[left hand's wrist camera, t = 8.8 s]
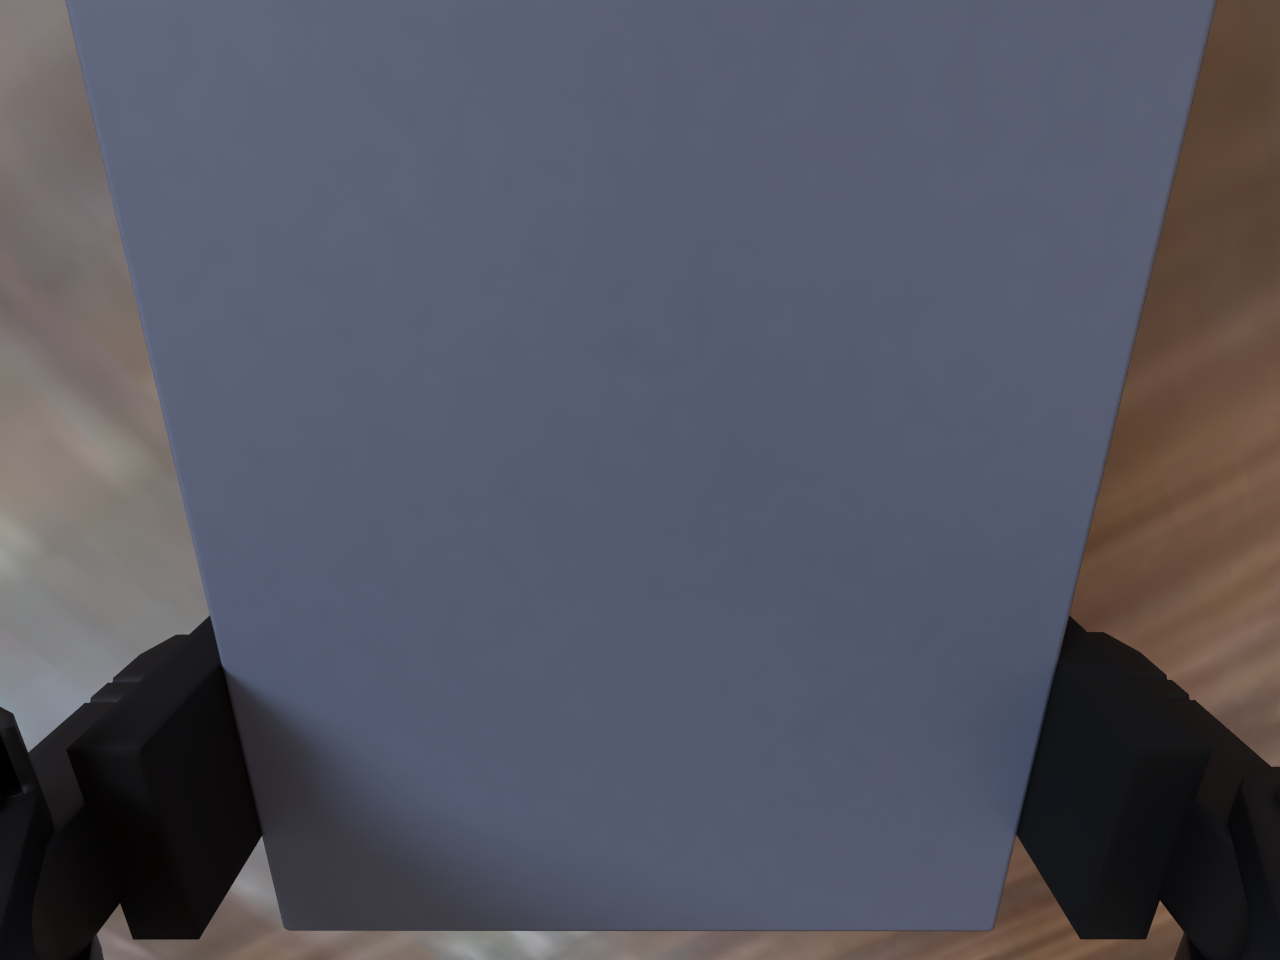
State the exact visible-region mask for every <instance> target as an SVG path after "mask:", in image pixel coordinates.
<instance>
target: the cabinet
mask: <svg viewBox="0 0 1280 960" xmlns="http://www.w3.org/2000/svg"><path fill="white" fill-rule="evenodd" d="M65 1H66V5H67V9H68V13H69V18H70V22H71V26H72V30H73V35H74V39H75V43H76V47H77V52H78V56H79V60H80V64H81V69H82V73H83V77H84V81H85V86H86V90H87V94H88V98H89V103H90V107H91V111H92V115H93V120H94V124H95V128H96V132H97V137H98V141H99V145H100V149H101V154H102V158H103V162H104V166H105V171H106V175H107V179H108V183H109V188H110V192H111V196H112V200H113V204H114V209H115V213H116V217H117V221H118V226H119V230H120V234H121V238H122V243H123V247H124V251H125V255H126V260H127V264H128V268H129V272H130V277H131V281H132V285H133V289H134V294H135V298H136V302H137V306H138V311H139V315H140V319H141V323H142V328H143V332H144V336H145V340H146V345H147V349H148V353H149V357H150V362H151V366H152V370H153V374H154V379H155V383H156V387H157V391H158V396H159V400H160V404H161V408H162V412H163V417H164V421H165V425H166V429H167V434H168V438H169V442H170V446H171V451H172V455H173V459H174V463H175V468H176V472H177V476H178V480H179V485H180V489H181V493H182V497H183V502H184V506H185V510H186V514H187V519H188V523H189V527H190V531H191V536H192V540H193V544H194V548H195V553H196V557H197V561H198V565H199V570H200V574H201V578H202V582H203V587H204V591H205V595H206V599H207V603H208V608H209V612H210V616H211V620H212V625H213V629H214V633H215V637H216V642H217V646H218V650H219V654H220V659H221V663H222V667H223V671H224V676H225V680H226V684H227V688H228V693H229V697H230V701H231V705H232V710H233V714H234V718H235V722H236V727H237V731H238V735H239V739H240V744H241V748H242V752H243V756H244V761H245V765H246V769H247V773H248V778H249V782H250V786H251V790H252V795H253V799H254V803H255V807H256V811H257V816H258V820H259V824H260V828H261V833H262V837H263V841H264V845H265V850H266V854H267V858H268V862H269V867H270V871H271V875H272V879H273V884H274V888H275V892H276V896H277V901H278V905H279V909H280V913H281V918H282V922H283V926H284V928H285V929H287V930H289V931H990V930H992V929H993V928H994V925H995V921H996V917H997V913H998V909H999V905H1000V900H1001V896H1002V892H1003V888H1004V884H1005V880H1006V875H1007V871H1008V867H1009V863H1010V859H1011V855H1012V850H1013V846H1014V842H1015V838H1016V834H1017V830H1018V825H1019V821H1020V817H1021V813H1022V809H1023V805H1024V801H1025V796H1026V792H1027V788H1028V784H1029V780H1030V776H1031V771H1032V767H1033V763H1034V759H1035V755H1036V751H1037V746H1038V742H1039V738H1040V734H1041V730H1042V726H1043V721H1044V717H1045V713H1046V709H1047V705H1048V701H1049V697H1050V692H1051V688H1052V684H1053V680H1054V676H1055V672H1056V667H1057V663H1058V659H1059V655H1060V651H1061V647H1062V642H1063V638H1064V634H1065V630H1066V626H1067V622H1068V617H1069V613H1070V609H1071V605H1072V601H1073V597H1074V592H1075V588H1076V584H1077V580H1078V576H1079V572H1080V568H1081V563H1082V559H1083V555H1084V551H1085V547H1086V543H1087V538H1088V534H1089V530H1090V526H1091V522H1092V518H1093V513H1094V509H1095V505H1096V501H1097V497H1098V493H1099V488H1100V484H1101V480H1102V476H1103V472H1104V468H1105V464H1106V459H1107V455H1108V451H1109V447H1110V443H1111V439H1112V434H1113V430H1114V426H1115V422H1116V418H1117V414H1118V409H1119V405H1120V401H1121V397H1122V393H1123V389H1124V384H1125V380H1126V376H1127V372H1128V368H1129V364H1130V360H1131V355H1132V351H1133V347H1134V343H1135V339H1136V335H1137V330H1138V326H1139V322H1140V318H1141V314H1142V310H1143V305H1144V301H1145V297H1146V293H1147V289H1148V285H1149V280H1150V276H1151V272H1152V268H1153V264H1154V260H1155V256H1156V251H1157V247H1158V243H1159V239H1160V235H1161V231H1162V226H1163V222H1164V218H1165V214H1166V210H1167V206H1168V201H1169V197H1170V193H1171V189H1172V185H1173V181H1174V176H1175V172H1176V168H1177V164H1178V160H1179V156H1180V152H1181V147H1182V143H1183V139H1184V135H1185V131H1186V127H1187V122H1188V118H1189V114H1190V110H1191V106H1192V102H1193V97H1194V93H1195V89H1196V85H1197V81H1198V77H1199V72H1200V68H1201V64H1202V60H1203V56H1204V52H1205V47H1206V43H1207V39H1208V35H1209V31H1210V27H1211V23H1212V18H1213V14H1214V10H1215V6H1216V2H1217V0H65Z"/></svg>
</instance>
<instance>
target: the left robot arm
mask: <svg viewBox="0 0 1280 960" xmlns="http://www.w3.org/2000/svg"><path fill="white" fill-rule="evenodd" d="M261 836H262V833H261V828H260V824H259V820H258V816H257V811H256V807H255V803H254V799H253V795H252V790H251V786H250V782H249V778H248V773H247V769H246V765H245V761H244V756H243V752H242V748H241V744H240V739H239V735H238V731H237V727H236V722H235V718H234V714H233V710H232V705H231V701H230V697H229V693H228V688H227V684H226V680H225V676H224V671H223V667H222V663H221V659H220V654H219V650H218V646H217V642H216V637H215V633H214V629H213V625H212V620H211V616H209V617H208V618H207V619H206V620H205V621H203V622H202V623H201V624H200V625H199V626H198V627H197V628H196V629H195V630H194V631H193V632H192V633H191V634H190V635H175V636H173V637H171V638H169V639H168V640H166V641H164V642H162V643H160V644H158V645H157V646H155V647H153V648H151V649H149V650H148V651H146V652H144V653H142V654H140V655H139V656H138V657H137V658H136V659H134V660H133V661H132V662H131V663H130V664H129V665H128V666H126V667H125V668H124V669H123V670H122V671H121V672H120V673H118V674H117V675H116V676H115V677H114V678H113V682H112V683H107V684H106V685H105V686H104V687H103V688H101V689H100V690H99V691H98V692H97V693H96V694H95V695H93V696H92V697H91V701H90V703H84V704H83V705H82V706H81V707H80V708H79V709H78V710H76V711H75V712H74V713H73V714H72V715H71V716H70V717H68V718H67V719H66V720H65V721H64V722H63V723H62V724H60V725H59V726H58V727H57V728H56V729H55V730H54V731H52V732H51V733H50V734H49V735H48V736H47V737H46V738H45V739H43V740H42V741H41V742H40V743H39V744H38V745H37V746H35V747H34V748H33V749H32V750H31V751H30V752H29V753H28V752H27V749H26V746H25V744H24V741H23V738H22V736H21V733H20V730H19V728H18V725H17V722H16V720H15V717H14V715H13V713H11V712H9V711H7V710H5V709H3V708H1V707H0V960H104V959H103V953H102V948H101V945H100V942H99V939H98V937H97V933H98V931H99V930H100V929H101V927H102V926H103V925H104V923H105V922H106V921H107V919H108V918H109V917H110V915H111V914H112V913H113V912H114V910H115V909H116V908H117V906H118V905H119V904H121V907H122V909H123V912H124V915H125V918H126V921H127V924H128V926H129V929H130V932H131V935H132V938H133V939H199V938H200V937H201V935H202V933H203V932H204V930H205V928H206V927H207V925H208V924H209V922H210V920H211V919H212V917H213V915H214V914H215V912H216V910H217V909H218V907H219V905H220V904H221V902H222V901H223V899H224V897H225V896H226V894H227V892H228V891H229V889H230V887H231V886H232V884H233V882H234V881H235V879H236V877H237V876H238V874H239V873H240V871H241V869H242V868H243V866H244V864H245V863H246V861H247V859H248V858H249V856H250V854H251V853H252V851H253V850H254V848H255V846H256V845H257V843H258V841H259V840H260V838H261ZM1017 836H1018V838H1019V839H1020V841H1021V843H1022V844H1023V846H1024V848H1025V849H1026V851H1027V852H1028V854H1029V856H1030V857H1031V859H1032V861H1033V862H1034V864H1035V866H1036V867H1037V869H1038V871H1039V872H1040V874H1041V875H1042V877H1043V879H1044V880H1045V882H1046V884H1047V885H1048V887H1049V889H1050V890H1051V892H1052V894H1053V895H1054V897H1055V898H1056V900H1057V902H1058V903H1059V905H1060V907H1061V908H1062V910H1063V912H1064V913H1065V915H1066V917H1067V918H1068V920H1069V921H1070V923H1071V925H1072V926H1073V928H1074V930H1075V931H1076V933H1077V935H1078V936H1079V938H1080V939H1146V938H1147V935H1148V932H1149V929H1150V926H1151V924H1152V921H1153V918H1154V915H1155V912H1156V909H1157V907H1158V904H1159V901H1161V902H1162V903H1163V905H1164V906H1165V907H1166V909H1167V910H1168V911H1169V913H1170V914H1171V915H1172V917H1173V918H1174V919H1175V920H1176V922H1177V923H1178V924H1179V926H1180V927H1181V928H1182V930H1183V931H1184V934H1183V937H1182V939H1181V942H1180V945H1179V947H1178V950H1177V953H1176V955H1175V958H1174V960H1280V767H1271V766H1270V765H1269V764H1267V763H1266V762H1265V761H1264V760H1263V759H1262V758H1261V757H1259V756H1258V755H1257V754H1256V753H1255V752H1254V751H1253V750H1251V749H1250V748H1249V747H1248V746H1247V745H1246V744H1245V743H1243V742H1242V741H1241V740H1240V739H1239V738H1238V737H1237V736H1235V735H1234V734H1233V733H1232V732H1231V731H1230V730H1229V729H1227V728H1226V727H1225V726H1224V725H1223V724H1222V723H1221V722H1219V721H1218V720H1217V719H1216V718H1215V717H1214V716H1213V715H1211V714H1210V713H1209V712H1208V711H1207V710H1206V709H1204V708H1203V707H1202V706H1201V705H1200V704H1199V703H1198V702H1196V701H1195V700H1190V699H1189V695H1188V694H1187V693H1186V692H1185V691H1184V690H1183V689H1182V688H1180V687H1179V686H1178V685H1177V684H1176V683H1175V682H1174V681H1172V680H1167V675H1166V674H1164V673H1163V672H1162V671H1161V670H1160V669H1159V668H1158V667H1156V666H1155V665H1154V664H1153V663H1152V662H1151V661H1150V660H1148V659H1147V658H1146V657H1145V656H1144V655H1143V654H1141V653H1140V652H1139V651H1137V650H1135V649H1133V648H1131V647H1130V646H1128V645H1126V644H1124V643H1122V642H1120V641H1119V640H1117V639H1115V638H1113V637H1111V636H1109V635H1108V634H1106V633H1104V632H1086V631H1085V630H1084V629H1083V628H1082V627H1081V626H1080V625H1079V624H1078V623H1077V622H1076V621H1075V620H1074V619H1072V618H1071V617H1070V616H1069V617H1068V622H1067V626H1066V630H1065V634H1064V638H1063V642H1062V647H1061V651H1060V655H1059V659H1058V663H1057V667H1056V672H1055V676H1054V680H1053V684H1052V688H1051V692H1050V697H1049V701H1048V705H1047V709H1046V713H1045V717H1044V721H1043V726H1042V730H1041V734H1040V738H1039V742H1038V746H1037V751H1036V755H1035V759H1034V763H1033V767H1032V771H1031V776H1030V780H1029V784H1028V788H1027V792H1026V796H1025V801H1024V805H1023V809H1022V813H1021V817H1020V821H1019V825H1018V830H1017Z"/></svg>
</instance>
